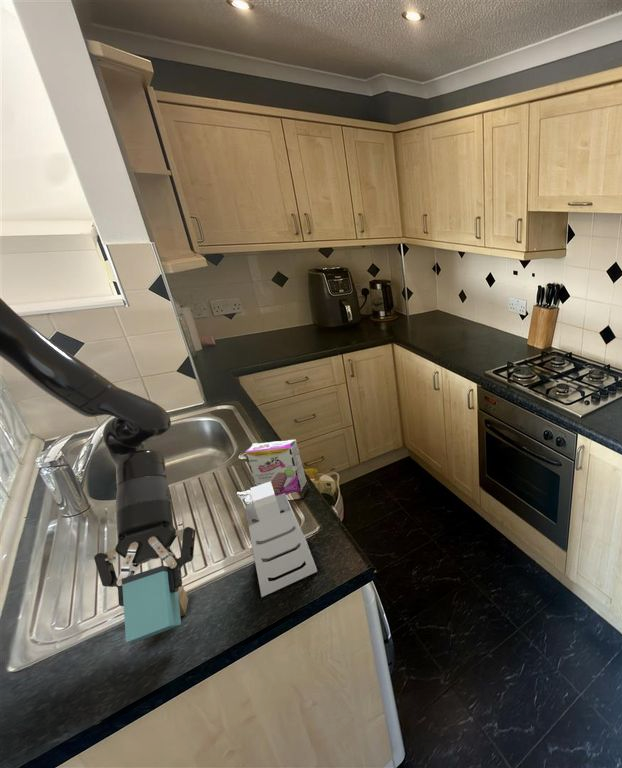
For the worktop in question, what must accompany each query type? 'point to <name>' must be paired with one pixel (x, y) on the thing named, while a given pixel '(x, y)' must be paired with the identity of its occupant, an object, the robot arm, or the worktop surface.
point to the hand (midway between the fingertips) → (152, 599)
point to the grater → (276, 540)
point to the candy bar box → (277, 465)
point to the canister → (149, 604)
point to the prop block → (182, 601)
